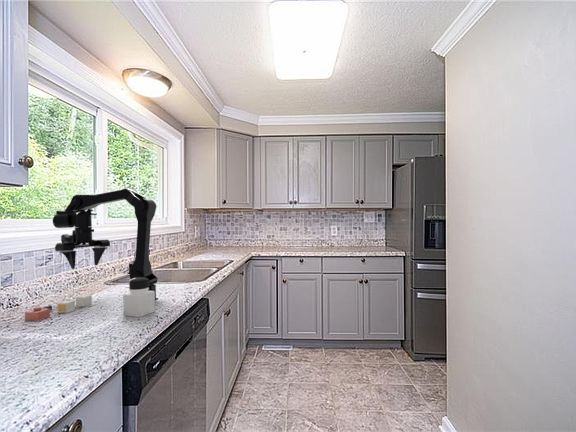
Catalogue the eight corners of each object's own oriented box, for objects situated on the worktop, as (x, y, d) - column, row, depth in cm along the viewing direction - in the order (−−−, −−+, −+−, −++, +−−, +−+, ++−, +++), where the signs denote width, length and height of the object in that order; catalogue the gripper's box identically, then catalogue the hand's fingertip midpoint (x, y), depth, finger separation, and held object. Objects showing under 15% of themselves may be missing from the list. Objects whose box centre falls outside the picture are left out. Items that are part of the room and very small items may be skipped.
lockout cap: (50, 321, 109) (49, 306, 109) (38, 325, 105) (37, 309, 105) (37, 320, 110) (37, 305, 110) (25, 325, 105) (24, 309, 105)
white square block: (91, 303, 124) (91, 295, 124) (84, 306, 121) (84, 297, 121) (83, 303, 125) (82, 295, 125) (75, 306, 121) (75, 297, 121)
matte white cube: (75, 309, 116) (74, 300, 116) (66, 313, 112) (66, 303, 112) (65, 309, 117) (65, 300, 117) (56, 312, 113) (56, 303, 113)
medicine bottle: (155, 311, 117) (154, 276, 117) (140, 317, 111) (139, 280, 111) (138, 310, 120) (138, 275, 120) (122, 315, 113) (122, 279, 113)
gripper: (92, 226, 145) (94, 263, 145) (45, 228, 128) (47, 270, 128) (110, 226, 140) (111, 263, 140) (63, 228, 123) (65, 271, 123)
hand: (84, 267), depth 133 cm, fingers open, 9 cm apart
